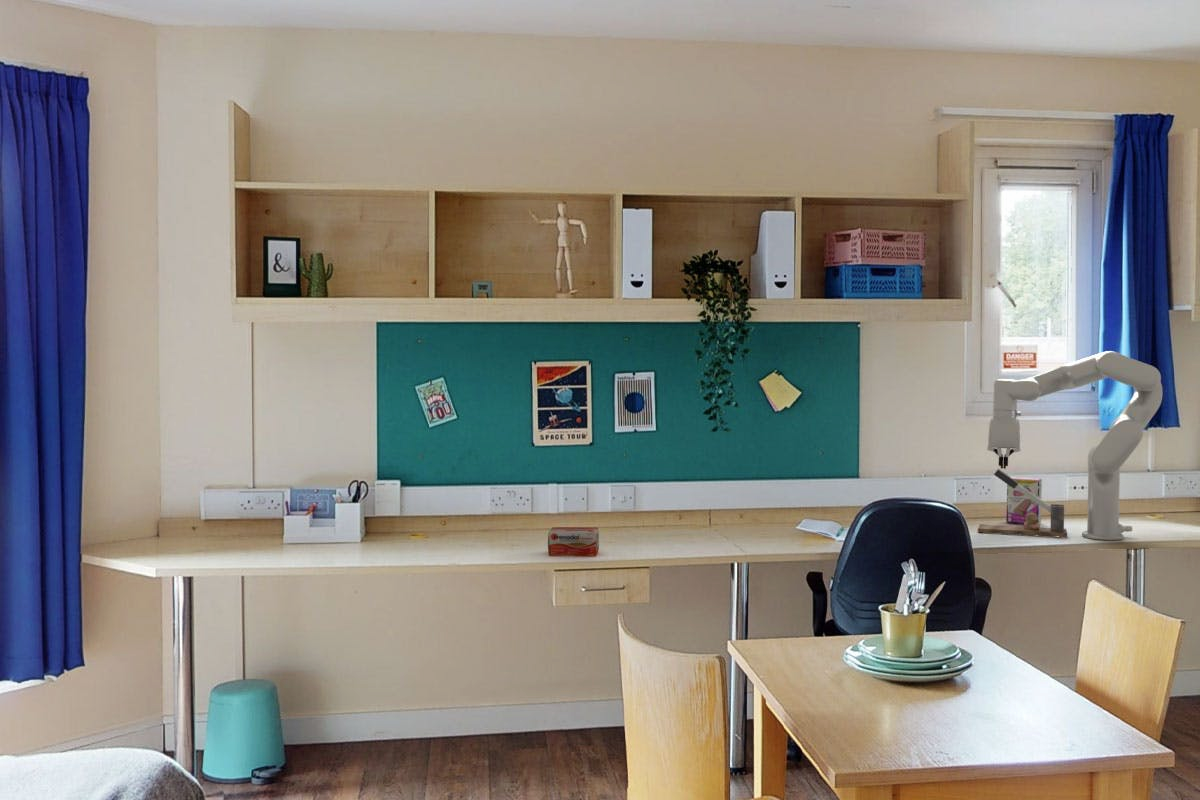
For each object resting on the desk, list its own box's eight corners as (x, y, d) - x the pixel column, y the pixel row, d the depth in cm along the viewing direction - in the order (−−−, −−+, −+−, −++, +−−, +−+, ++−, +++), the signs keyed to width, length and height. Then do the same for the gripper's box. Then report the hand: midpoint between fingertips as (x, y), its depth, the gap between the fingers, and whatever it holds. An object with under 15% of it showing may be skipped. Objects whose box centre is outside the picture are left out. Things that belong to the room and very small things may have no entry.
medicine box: (547, 556, 331) (547, 531, 331) (551, 551, 339) (551, 526, 339) (597, 557, 330) (596, 531, 330) (599, 552, 338) (599, 527, 338)
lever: (1057, 518, 367) (1062, 513, 367) (1058, 519, 364) (1062, 514, 363) (994, 473, 374) (998, 468, 373) (994, 474, 371) (998, 469, 370)
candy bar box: (1005, 523, 391) (1006, 478, 390) (1008, 521, 395) (1009, 476, 394) (1038, 525, 385) (1039, 479, 384) (1041, 523, 389) (1042, 478, 388)
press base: (1066, 533, 369) (1066, 504, 369) (1067, 537, 360) (1067, 508, 360) (979, 528, 380) (979, 500, 379) (978, 532, 370) (978, 503, 370)
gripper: (1028, 415, 371) (1026, 468, 372) (982, 413, 376) (980, 466, 377) (1028, 416, 364) (1026, 470, 365) (981, 414, 369) (979, 468, 370)
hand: (1003, 468), depth 371 cm, fingers closed
